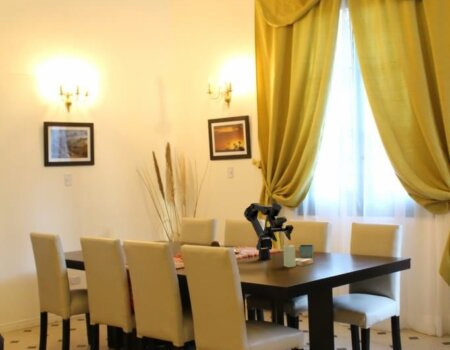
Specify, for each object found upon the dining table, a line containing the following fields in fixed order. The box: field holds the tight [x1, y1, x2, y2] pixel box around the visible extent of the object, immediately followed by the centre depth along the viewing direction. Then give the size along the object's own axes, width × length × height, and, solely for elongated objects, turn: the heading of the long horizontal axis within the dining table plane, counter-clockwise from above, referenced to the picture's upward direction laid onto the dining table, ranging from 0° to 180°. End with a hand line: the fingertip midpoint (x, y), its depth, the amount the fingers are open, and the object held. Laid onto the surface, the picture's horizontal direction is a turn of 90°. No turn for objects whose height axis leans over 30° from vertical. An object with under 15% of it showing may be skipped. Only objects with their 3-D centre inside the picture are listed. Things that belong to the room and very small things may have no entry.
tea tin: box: [282, 244, 297, 268], centre depth 367 cm, size 5×5×12 cm
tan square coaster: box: [295, 257, 314, 267], centre depth 375 cm, size 11×11×3 cm
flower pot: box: [298, 244, 315, 259], centre depth 389 cm, size 9×9×9 cm
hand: (283, 240), depth 374 cm, fingers open, 9 cm apart
